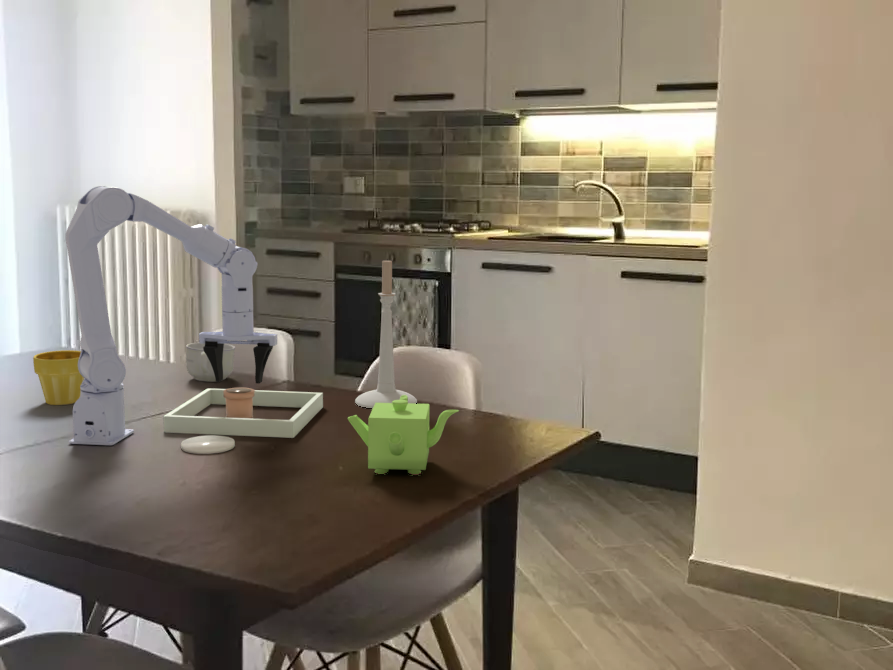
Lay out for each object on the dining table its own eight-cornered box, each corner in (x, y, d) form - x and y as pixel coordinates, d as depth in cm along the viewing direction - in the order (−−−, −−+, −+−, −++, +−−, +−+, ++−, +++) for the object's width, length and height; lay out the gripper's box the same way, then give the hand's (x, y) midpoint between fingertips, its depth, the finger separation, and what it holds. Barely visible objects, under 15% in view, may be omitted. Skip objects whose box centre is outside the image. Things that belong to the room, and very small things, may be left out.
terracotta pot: (250, 426, 188) (249, 394, 187) (219, 424, 188) (219, 393, 187) (258, 418, 193) (258, 387, 192) (229, 417, 194) (228, 386, 193)
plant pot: (54, 410, 197) (51, 361, 196) (25, 402, 203) (22, 354, 202) (100, 401, 205) (98, 354, 204) (71, 393, 211) (69, 348, 210)
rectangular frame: (293, 437, 180) (293, 421, 179) (163, 432, 182) (163, 416, 181) (322, 407, 203) (322, 392, 203) (207, 402, 205) (207, 388, 205)
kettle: (403, 450, 173) (404, 386, 171) (463, 468, 163) (464, 401, 161) (335, 467, 162) (336, 399, 160) (394, 487, 152) (395, 416, 151)
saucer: (225, 455, 168) (225, 450, 168) (173, 452, 169) (173, 448, 169) (241, 440, 177) (241, 436, 177) (191, 438, 178) (191, 434, 178)
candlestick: (389, 393, 217) (390, 255, 212) (429, 403, 208) (431, 259, 203) (342, 402, 208) (342, 257, 203) (383, 413, 199) (383, 262, 194)
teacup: (197, 373, 234) (196, 340, 233) (242, 375, 233) (241, 341, 232) (173, 386, 221) (172, 350, 219) (220, 388, 219) (219, 352, 218)
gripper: (281, 308, 190) (282, 378, 193) (207, 306, 192) (208, 376, 194) (271, 313, 184) (272, 386, 186) (194, 311, 185) (196, 383, 187)
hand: (239, 381), depth 189 cm, fingers open, 7 cm apart
